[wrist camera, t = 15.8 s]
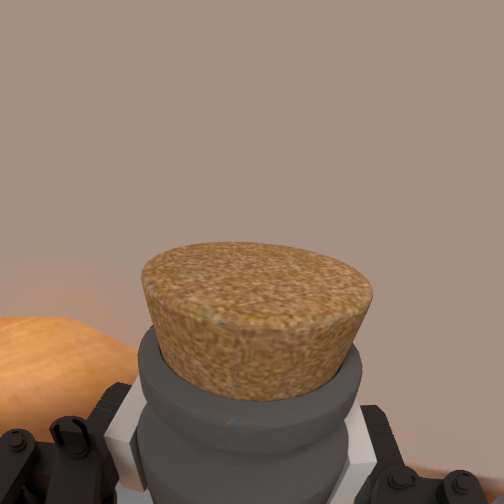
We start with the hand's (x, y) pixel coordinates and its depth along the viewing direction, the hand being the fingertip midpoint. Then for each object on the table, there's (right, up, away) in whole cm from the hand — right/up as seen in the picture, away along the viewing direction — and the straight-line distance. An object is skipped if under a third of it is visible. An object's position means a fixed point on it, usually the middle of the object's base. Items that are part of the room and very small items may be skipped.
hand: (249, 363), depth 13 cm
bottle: (-1, -10, -3) cm, 11 cm away
